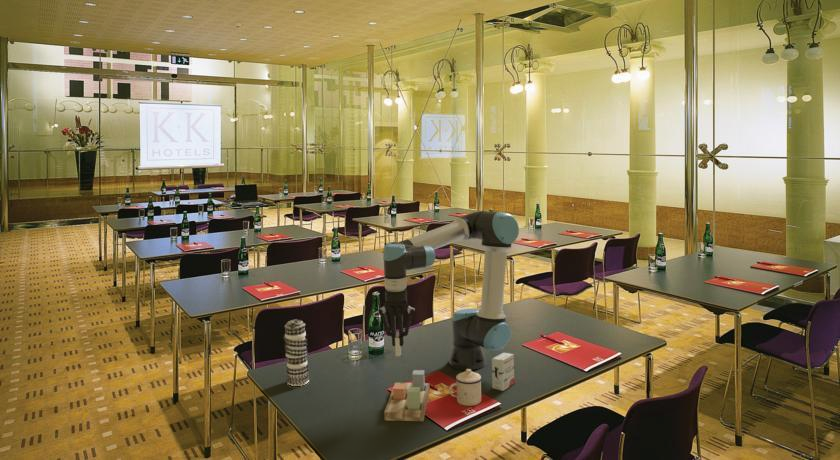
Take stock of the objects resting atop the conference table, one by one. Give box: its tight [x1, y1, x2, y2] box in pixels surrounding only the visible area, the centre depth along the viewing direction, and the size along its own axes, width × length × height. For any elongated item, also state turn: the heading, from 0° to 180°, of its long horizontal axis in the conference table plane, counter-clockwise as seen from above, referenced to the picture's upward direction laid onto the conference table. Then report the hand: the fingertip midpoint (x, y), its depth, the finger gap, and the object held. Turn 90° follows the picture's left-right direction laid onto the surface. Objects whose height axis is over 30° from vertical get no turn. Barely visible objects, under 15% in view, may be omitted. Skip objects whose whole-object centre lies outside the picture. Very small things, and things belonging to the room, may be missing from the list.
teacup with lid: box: [448, 369, 483, 407], centre depth 199 cm, size 12×9×12 cm
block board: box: [383, 382, 431, 422], centre depth 198 cm, size 13×24×3 cm, turn 174°
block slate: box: [411, 369, 426, 391], centre depth 204 cm, size 4×4×6 cm
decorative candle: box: [283, 318, 310, 387], centre depth 219 cm, size 9×9×25 cm
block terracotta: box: [392, 383, 406, 400], centre depth 198 cm, size 4×4×6 cm
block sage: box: [407, 387, 421, 410], centre depth 190 cm, size 4×4×6 cm
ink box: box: [491, 352, 515, 392], centre depth 211 cm, size 8×5×12 cm, turn 140°
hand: (398, 354), depth 196 cm, fingers closed
